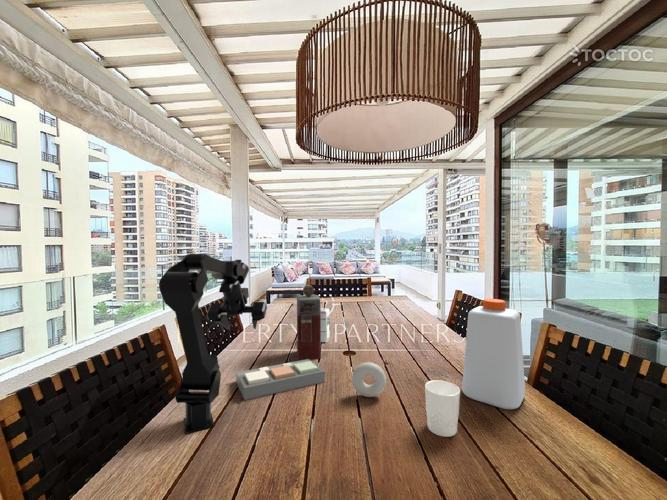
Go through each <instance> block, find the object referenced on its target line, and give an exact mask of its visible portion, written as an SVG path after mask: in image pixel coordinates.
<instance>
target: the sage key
mask: <svg viewBox="0 0 667 500" xmlns="http://www.w3.org/2000/svg"><path fill="white" fill-rule="evenodd" d="M312 362H313V361H311V360H310V361H308V362H303V363H298V364H294V369H295V370H296V371H297V372H298V373H299V374H300V375H301V374H306V373H310V372H315V371H318V367H317V366H316V365H315V364H316V363H315V364H313V363H312Z"/></svg>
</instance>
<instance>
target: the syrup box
mask: <svg viewBox="0 0 667 500" xmlns="http://www.w3.org/2000/svg"><path fill="white" fill-rule="evenodd" d="M330 330H331V329H330V308H327V307H321V342H325V344H327V343H328V342H329V340H330V338H331V337H330V336H331V334H330Z"/></svg>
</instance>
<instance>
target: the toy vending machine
mask: <svg viewBox="0 0 667 500" xmlns="http://www.w3.org/2000/svg"><path fill="white" fill-rule="evenodd" d="M314 292H315V289H314V287H313V286H312V285H311V284H307V285H305V286H304V287H303V288H302V293H303V295H302V294H300V295H297V297H296V356H297V361H301V360H307V359H309V360H318V359H321V357H322V355H321V353H322V349H321V348H322V347H321V346H322V345H321V344H322V343H321V308H322V307H321V306H322V305H321V304H322V303H321V302H322V301H321V298H320V297H319V295H317V294H314Z"/></svg>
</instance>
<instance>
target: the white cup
mask: <svg viewBox="0 0 667 500" xmlns="http://www.w3.org/2000/svg"><path fill="white" fill-rule="evenodd" d="M424 389H425V390H424V392H425V410H426V411H425V412H426V418H427V419H426V420H427V421H426V424H427V429H428V430H429V432H431V433H433V434H435V435H437V436H439V437H443V438H444V437H445V438H446V437H447V438H449V437H452V436H456V434H457V433H458V421H459V412H460V411H459V410H460V400H461V399H460V396H461V395H460V394H461V389H460V388H459V387H458V385H456V384H455V383H452V382H450V381H446V380H439V379H437V380H436V379H435V380H429V381H427V382H425V384H424Z"/></svg>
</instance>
